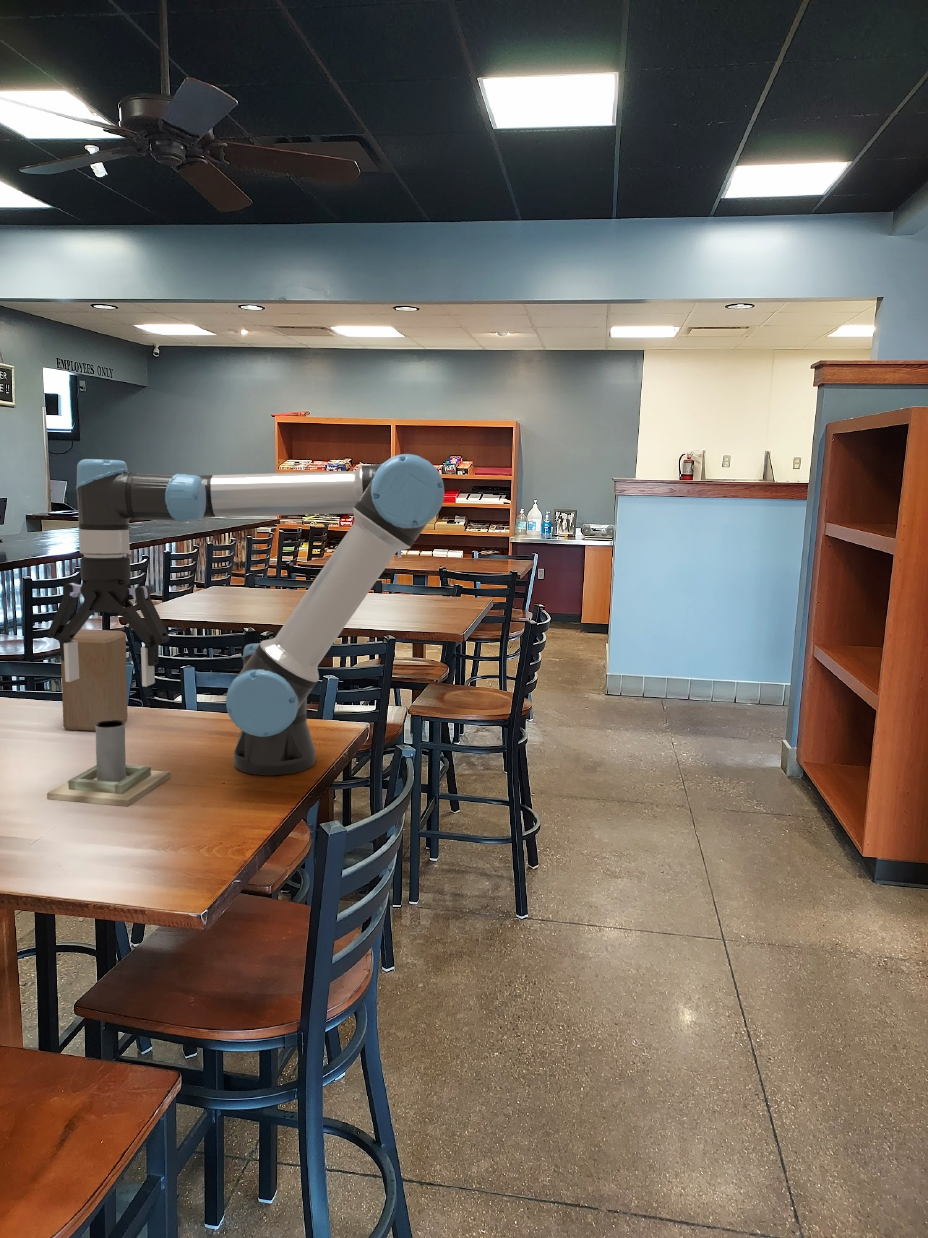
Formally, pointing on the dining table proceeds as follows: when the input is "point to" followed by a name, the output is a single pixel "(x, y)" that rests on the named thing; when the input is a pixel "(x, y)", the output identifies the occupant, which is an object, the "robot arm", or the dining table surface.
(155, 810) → the dining table surface
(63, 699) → the block
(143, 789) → the stand
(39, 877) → the dining table surface
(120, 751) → the grey hollow tube
